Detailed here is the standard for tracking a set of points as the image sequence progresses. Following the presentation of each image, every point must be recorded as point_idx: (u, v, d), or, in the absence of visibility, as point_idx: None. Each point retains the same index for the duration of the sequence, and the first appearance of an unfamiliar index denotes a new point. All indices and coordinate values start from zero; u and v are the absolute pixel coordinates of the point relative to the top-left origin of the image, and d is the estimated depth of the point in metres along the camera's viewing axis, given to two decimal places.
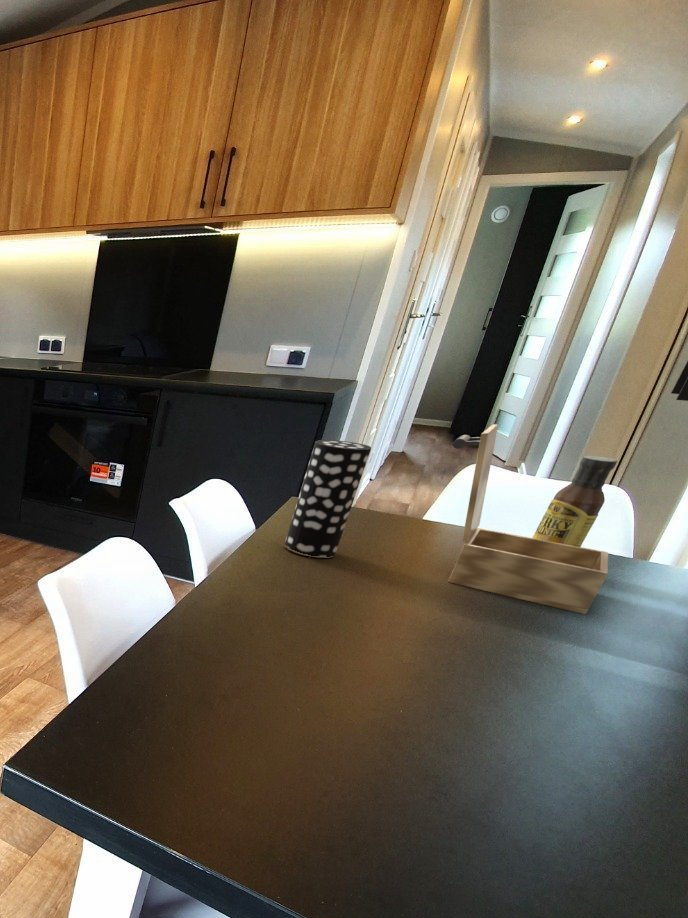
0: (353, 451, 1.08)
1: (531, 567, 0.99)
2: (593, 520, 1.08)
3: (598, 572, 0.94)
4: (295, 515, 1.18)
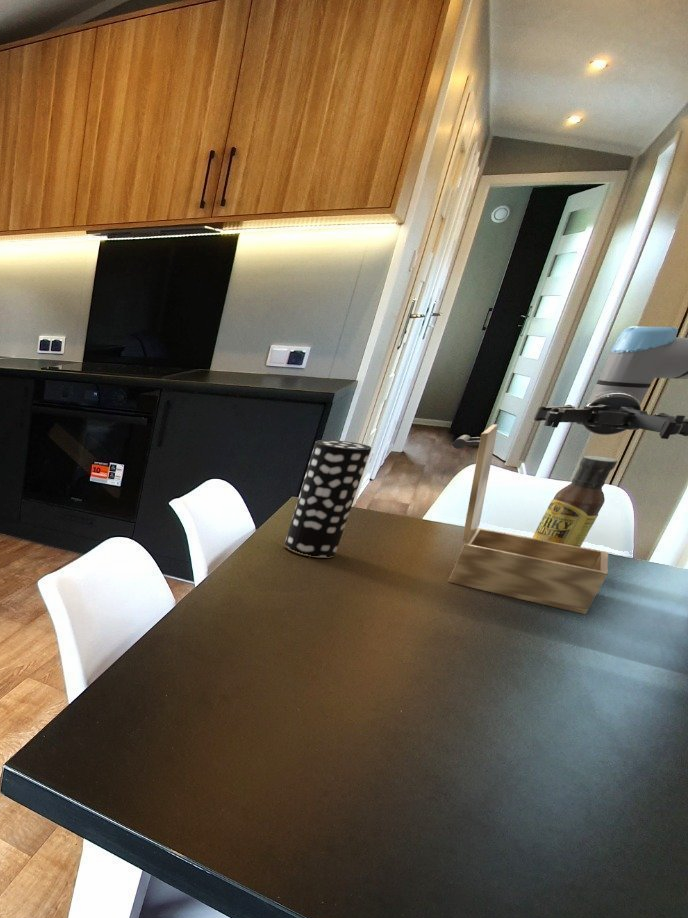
0: (353, 451, 1.08)
1: (531, 567, 0.99)
2: (593, 520, 1.08)
3: (598, 572, 0.94)
4: (295, 515, 1.18)
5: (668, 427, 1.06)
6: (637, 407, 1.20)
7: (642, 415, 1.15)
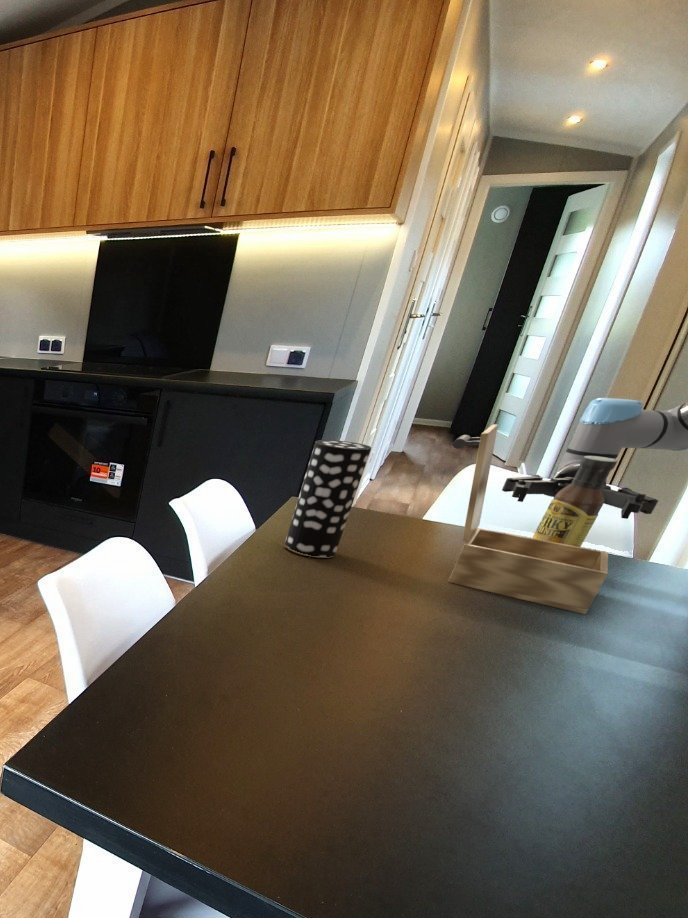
0: (353, 451, 1.08)
1: (531, 567, 0.99)
2: (593, 520, 1.08)
3: (598, 572, 0.94)
4: (295, 515, 1.18)
5: (628, 507, 1.09)
6: None
7: (606, 490, 1.18)
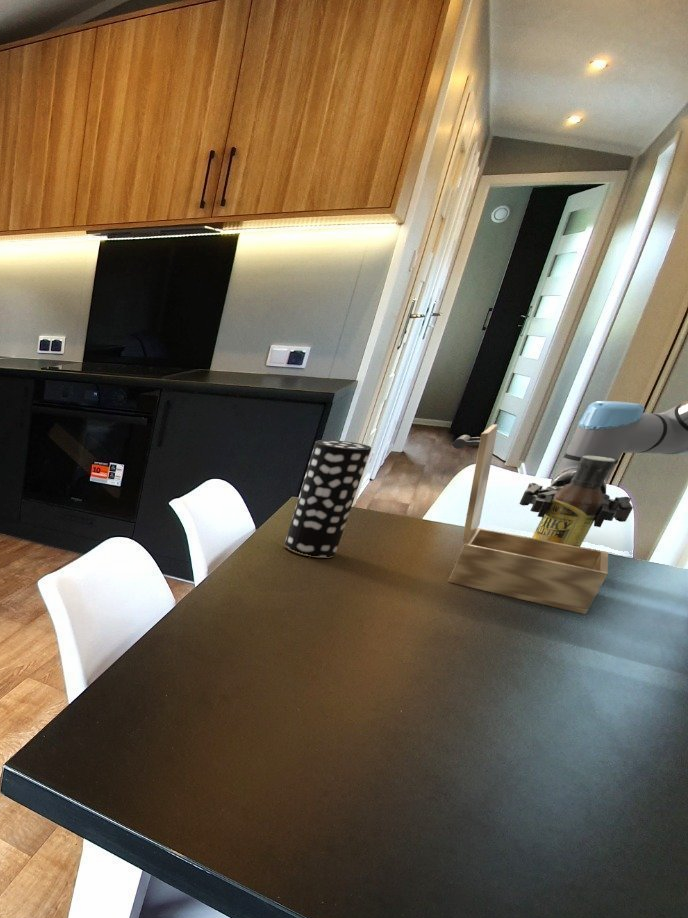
0: (353, 451, 1.08)
1: (531, 567, 0.99)
2: (592, 520, 1.08)
3: (598, 572, 0.94)
4: (295, 515, 1.18)
5: (600, 515, 1.04)
6: (602, 487, 1.17)
7: None
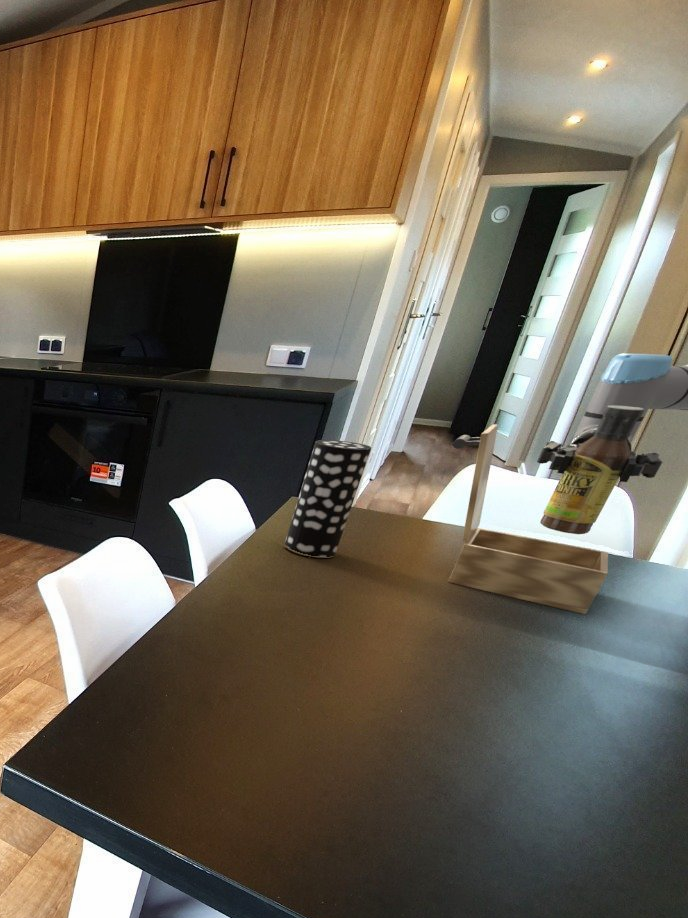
0: (353, 451, 1.08)
1: (531, 567, 0.99)
2: (618, 476, 0.99)
3: (598, 572, 0.94)
4: (295, 515, 1.18)
5: (627, 469, 0.95)
6: None
7: None
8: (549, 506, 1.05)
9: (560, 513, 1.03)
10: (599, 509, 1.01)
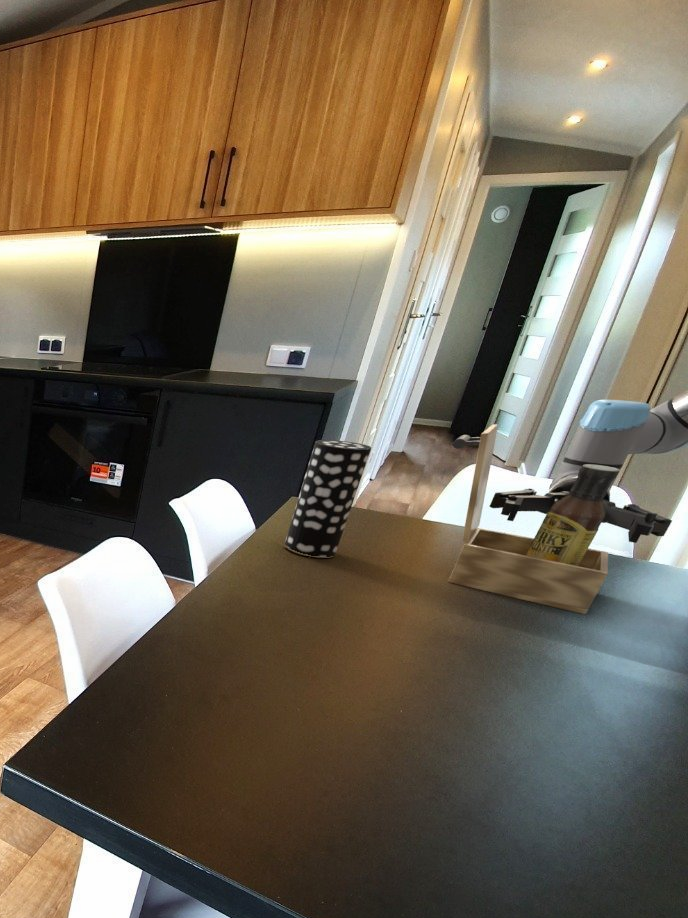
0: (353, 451, 1.08)
1: (531, 567, 0.99)
2: (593, 535, 0.97)
3: (598, 572, 0.94)
4: (295, 515, 1.18)
5: (636, 530, 0.93)
6: (605, 495, 1.06)
7: (610, 508, 1.01)
8: None
9: None
10: None
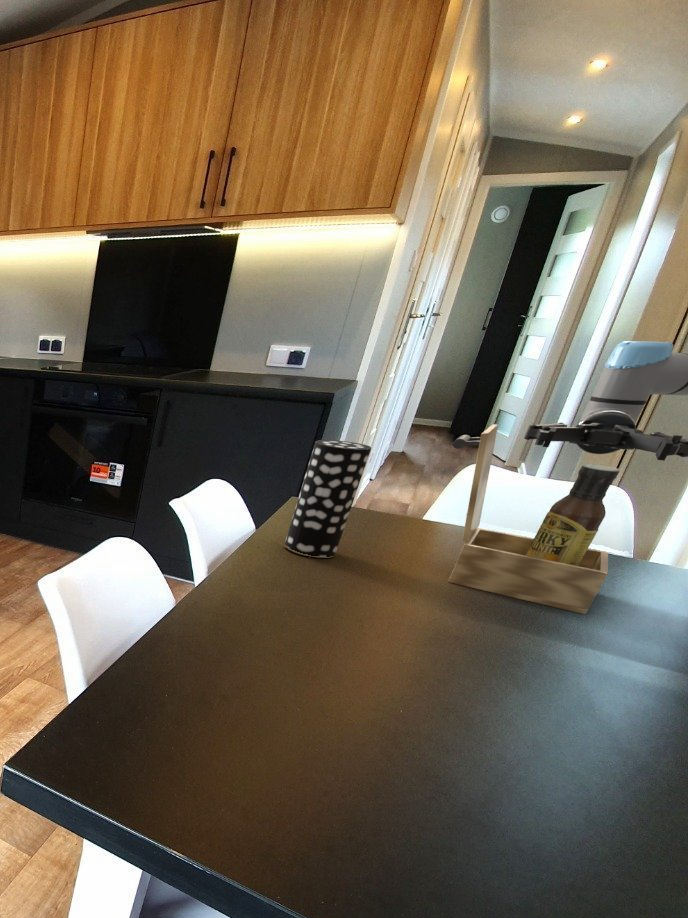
0: (353, 451, 1.08)
1: (531, 567, 0.99)
2: (593, 535, 0.97)
3: (598, 572, 0.94)
4: (295, 515, 1.18)
5: (664, 448, 1.01)
6: (632, 426, 1.14)
7: (637, 434, 1.10)
8: None
9: None
10: None
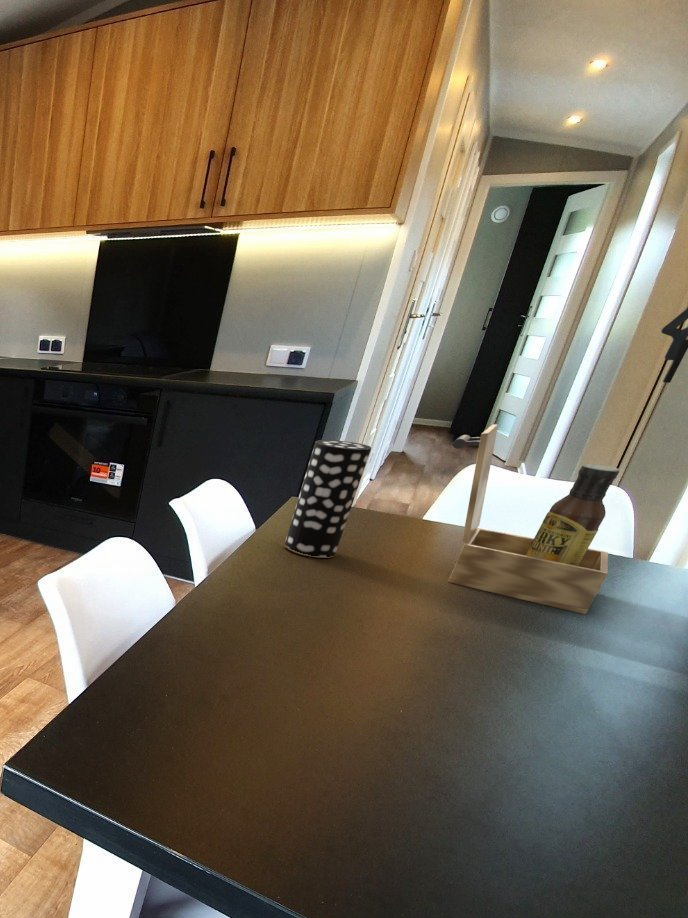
0: (353, 451, 1.08)
1: (531, 567, 0.99)
2: (593, 535, 0.97)
3: (598, 572, 0.94)
4: (295, 515, 1.18)
5: None
6: None
7: None
8: None
9: None
10: None
